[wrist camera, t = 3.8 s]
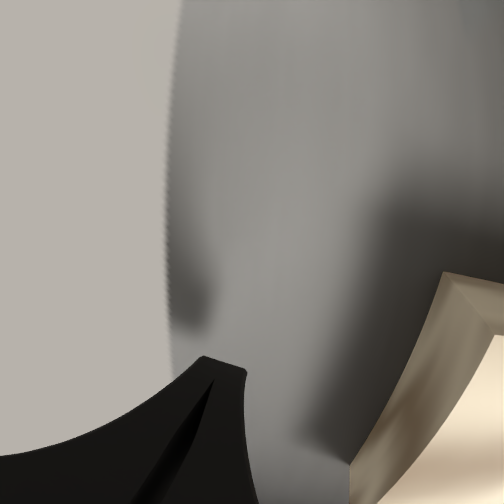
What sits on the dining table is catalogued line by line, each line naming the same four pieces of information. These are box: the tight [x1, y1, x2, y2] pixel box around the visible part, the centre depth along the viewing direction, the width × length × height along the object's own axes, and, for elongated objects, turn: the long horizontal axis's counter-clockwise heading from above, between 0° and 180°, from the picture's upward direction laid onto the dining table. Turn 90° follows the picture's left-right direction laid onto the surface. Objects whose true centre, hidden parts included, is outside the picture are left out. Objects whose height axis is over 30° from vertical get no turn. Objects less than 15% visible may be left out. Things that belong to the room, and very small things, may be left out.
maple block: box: [349, 271, 504, 504], centre depth 8 cm, size 10×8×4 cm
